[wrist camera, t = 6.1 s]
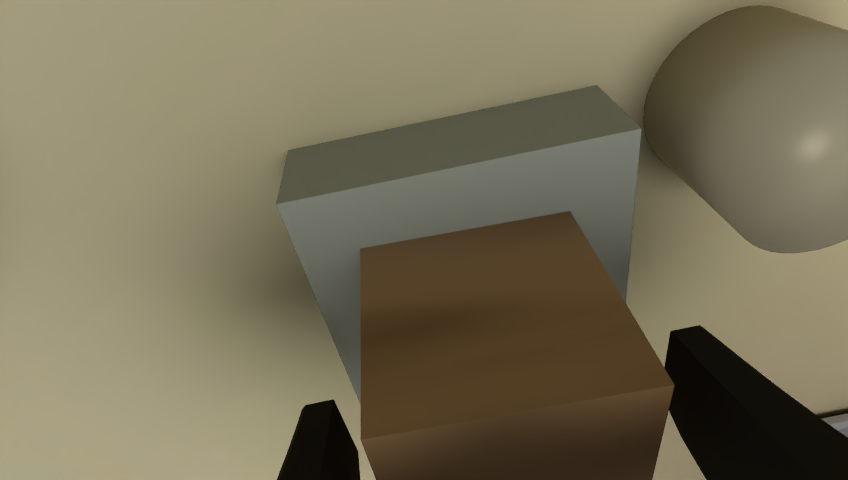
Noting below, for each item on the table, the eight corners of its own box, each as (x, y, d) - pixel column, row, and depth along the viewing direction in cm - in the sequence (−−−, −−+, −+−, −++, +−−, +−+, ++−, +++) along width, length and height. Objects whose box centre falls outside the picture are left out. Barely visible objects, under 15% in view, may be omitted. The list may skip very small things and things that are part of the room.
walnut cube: (565, 351, 15) (640, 529, 11) (397, 381, 15) (410, 569, 11) (570, 211, 12) (674, 385, 8) (360, 248, 12) (361, 439, 8)
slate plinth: (585, 298, 18) (619, 365, 16) (363, 342, 18) (365, 415, 16) (590, 79, 13) (641, 128, 11) (289, 142, 14) (276, 204, 11)
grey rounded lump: (795, 147, 15) (918, 225, 11) (642, 186, 15) (720, 273, 12) (829, -17, 12) (1000, 22, 9) (644, 33, 12) (744, 90, 9)
